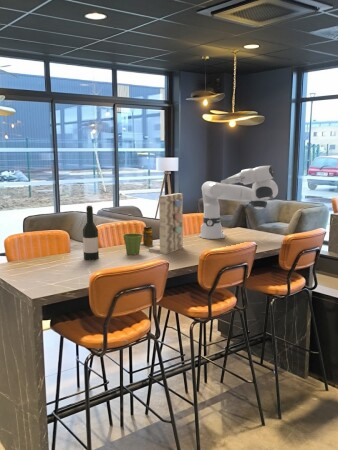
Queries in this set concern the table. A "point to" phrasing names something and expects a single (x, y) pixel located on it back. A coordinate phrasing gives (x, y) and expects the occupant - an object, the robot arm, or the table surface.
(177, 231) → the sage button
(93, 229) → the wine bottle
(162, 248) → the tall patterned box
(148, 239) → the condiment
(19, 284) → the table surface
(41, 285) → the table surface
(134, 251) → the plant pot
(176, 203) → the slate button
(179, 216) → the terracotta button
